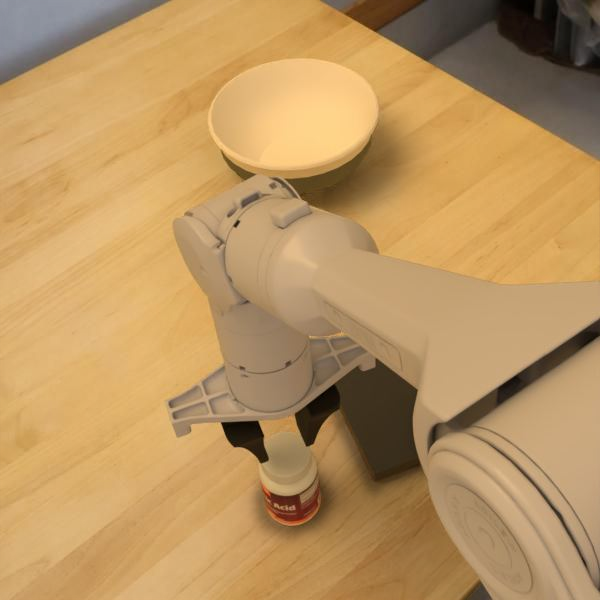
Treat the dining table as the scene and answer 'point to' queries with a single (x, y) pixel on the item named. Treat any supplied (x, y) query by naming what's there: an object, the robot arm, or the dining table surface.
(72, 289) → the dining table surface
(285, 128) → the bowl
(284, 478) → the pill bottle
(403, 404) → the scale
